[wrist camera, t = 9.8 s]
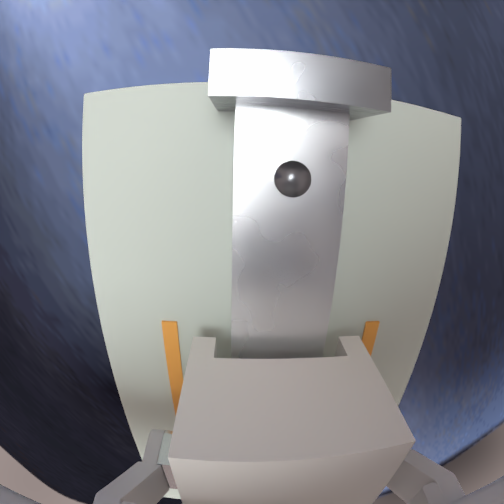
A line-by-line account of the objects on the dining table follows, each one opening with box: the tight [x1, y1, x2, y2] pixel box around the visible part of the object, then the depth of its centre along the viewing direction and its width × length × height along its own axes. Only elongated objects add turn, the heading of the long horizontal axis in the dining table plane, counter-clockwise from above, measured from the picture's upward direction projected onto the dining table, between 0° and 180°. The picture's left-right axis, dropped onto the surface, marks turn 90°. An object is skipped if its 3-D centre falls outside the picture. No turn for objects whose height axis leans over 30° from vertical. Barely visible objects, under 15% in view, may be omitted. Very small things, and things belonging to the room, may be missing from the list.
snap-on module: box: [168, 336, 416, 504], centre depth 9 cm, size 6×7×5 cm
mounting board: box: [82, 82, 461, 499], centre depth 13 cm, size 14×24×1 cm, turn 178°
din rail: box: [208, 48, 391, 359], centre depth 11 cm, size 4×23×3 cm, turn 178°
